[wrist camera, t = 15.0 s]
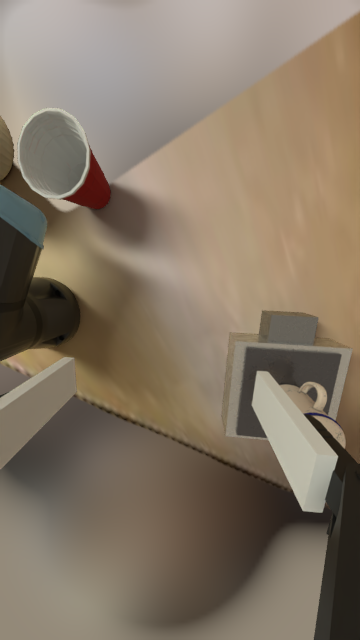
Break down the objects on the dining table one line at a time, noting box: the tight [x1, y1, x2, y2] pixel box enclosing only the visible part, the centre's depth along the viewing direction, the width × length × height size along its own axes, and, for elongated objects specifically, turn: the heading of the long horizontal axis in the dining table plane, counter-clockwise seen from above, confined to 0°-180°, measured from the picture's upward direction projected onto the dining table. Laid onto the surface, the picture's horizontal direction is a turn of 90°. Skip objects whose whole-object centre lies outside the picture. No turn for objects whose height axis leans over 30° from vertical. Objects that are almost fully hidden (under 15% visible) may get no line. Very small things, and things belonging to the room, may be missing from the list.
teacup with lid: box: [279, 382, 346, 449], centre depth 30 cm, size 12×9×12 cm
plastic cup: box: [17, 108, 111, 209], centre depth 32 cm, size 11×11×12 cm
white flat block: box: [222, 311, 352, 440], centre depth 39 cm, size 20×25×7 cm
